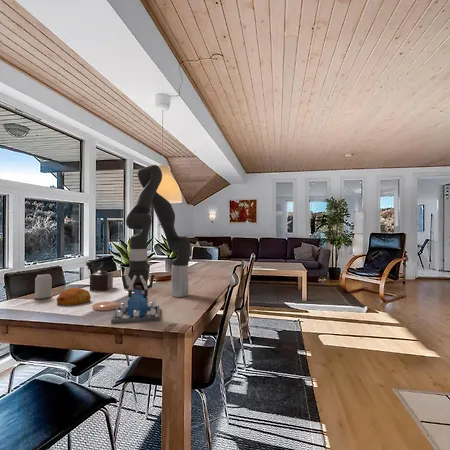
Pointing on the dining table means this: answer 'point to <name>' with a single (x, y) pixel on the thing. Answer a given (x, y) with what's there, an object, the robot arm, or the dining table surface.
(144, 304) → the perfume bottle
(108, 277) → the black coffee grinder
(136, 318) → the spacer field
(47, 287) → the can
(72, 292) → the croissant
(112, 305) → the peach round disc
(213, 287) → the dining table surface
